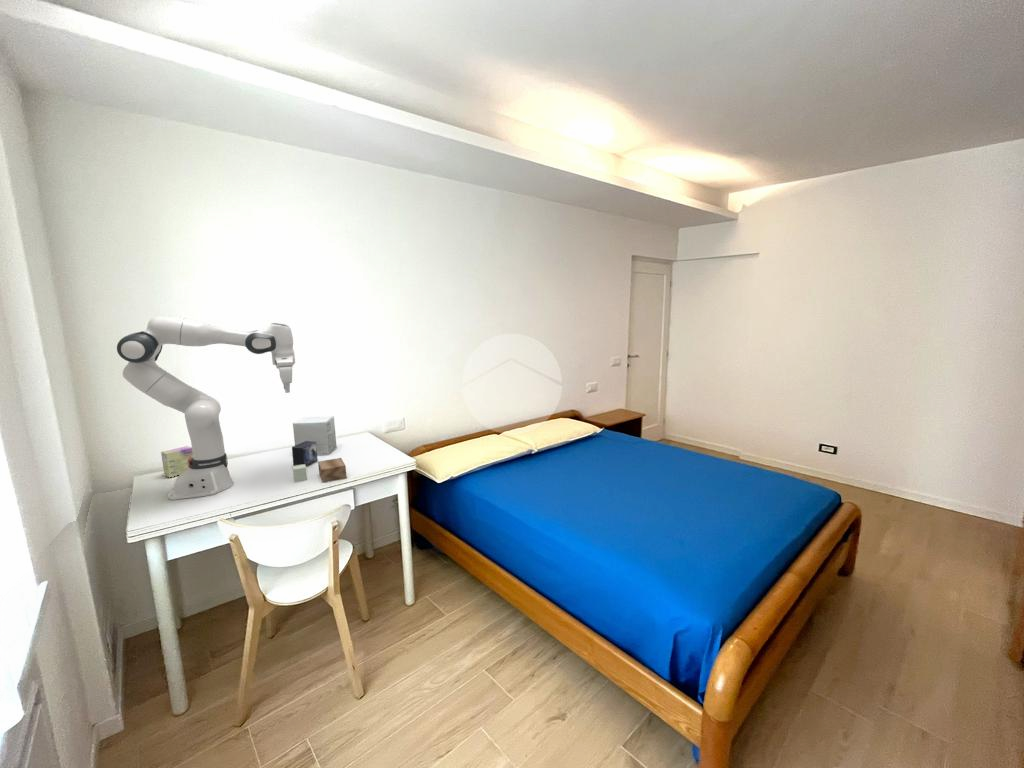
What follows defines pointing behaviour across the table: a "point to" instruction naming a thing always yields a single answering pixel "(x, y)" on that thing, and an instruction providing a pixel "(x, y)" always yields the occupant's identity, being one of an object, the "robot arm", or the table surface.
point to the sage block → (299, 473)
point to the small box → (304, 453)
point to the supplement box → (316, 433)
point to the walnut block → (332, 470)
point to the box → (176, 460)
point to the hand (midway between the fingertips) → (286, 390)
